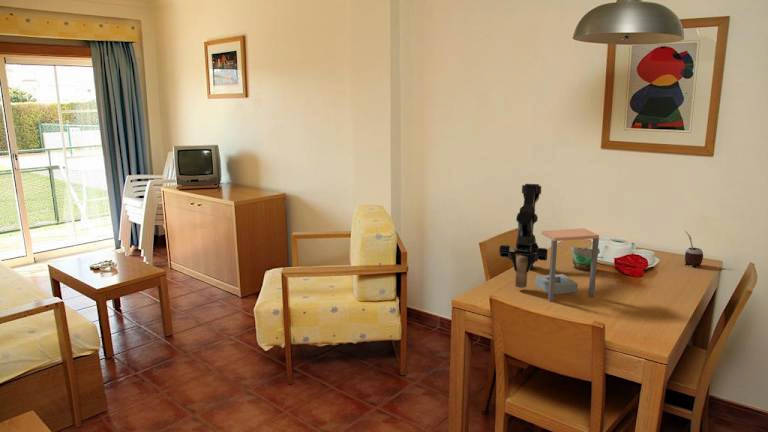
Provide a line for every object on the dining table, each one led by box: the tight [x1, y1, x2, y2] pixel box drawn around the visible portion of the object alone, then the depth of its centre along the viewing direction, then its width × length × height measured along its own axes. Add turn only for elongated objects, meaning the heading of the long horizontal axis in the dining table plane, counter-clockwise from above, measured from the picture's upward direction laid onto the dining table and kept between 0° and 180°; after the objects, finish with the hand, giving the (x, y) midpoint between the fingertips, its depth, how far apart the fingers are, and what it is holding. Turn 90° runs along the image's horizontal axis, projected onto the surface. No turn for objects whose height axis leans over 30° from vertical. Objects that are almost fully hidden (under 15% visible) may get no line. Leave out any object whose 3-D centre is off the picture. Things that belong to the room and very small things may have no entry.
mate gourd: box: [684, 230, 704, 268], centre depth 240 cm, size 8×8×15 cm
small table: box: [535, 228, 600, 302], centre depth 210 cm, size 19×18×25 cm
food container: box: [570, 245, 601, 272], centre depth 237 cm, size 12×6×10 cm, turn 62°
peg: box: [515, 255, 528, 289], centre depth 212 cm, size 4×4×12 cm
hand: (521, 271), depth 211 cm, fingers closed on peg, 4 cm apart
